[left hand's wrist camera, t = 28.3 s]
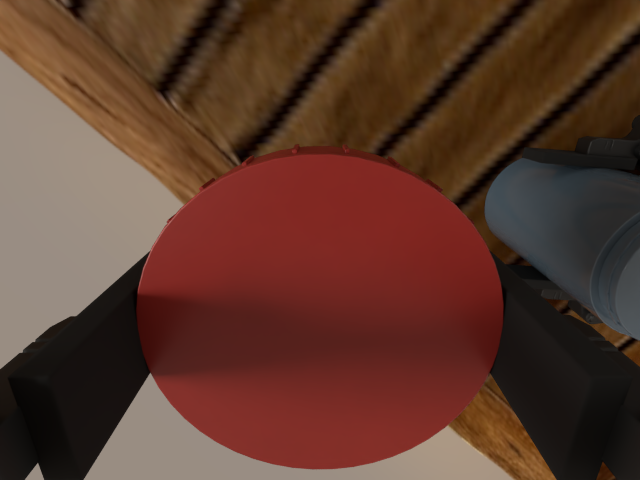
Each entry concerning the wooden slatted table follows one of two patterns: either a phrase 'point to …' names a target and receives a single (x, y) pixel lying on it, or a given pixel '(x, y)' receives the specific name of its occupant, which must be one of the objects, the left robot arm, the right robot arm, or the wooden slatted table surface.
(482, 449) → the wooden slatted table surface
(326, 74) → the wooden slatted table surface
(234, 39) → the wooden slatted table surface
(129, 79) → the wooden slatted table surface
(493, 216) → the jar
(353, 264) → the lid
